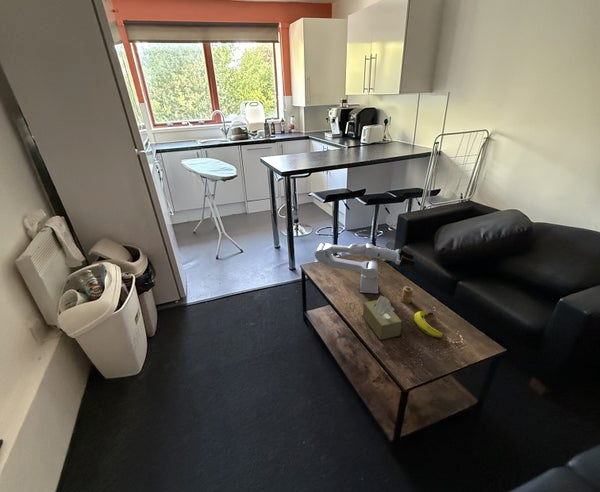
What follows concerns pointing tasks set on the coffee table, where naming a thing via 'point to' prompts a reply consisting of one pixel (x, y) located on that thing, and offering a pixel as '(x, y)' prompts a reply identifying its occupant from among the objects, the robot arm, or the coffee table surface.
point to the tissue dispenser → (382, 318)
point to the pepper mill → (407, 294)
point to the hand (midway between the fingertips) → (413, 260)
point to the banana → (426, 324)
